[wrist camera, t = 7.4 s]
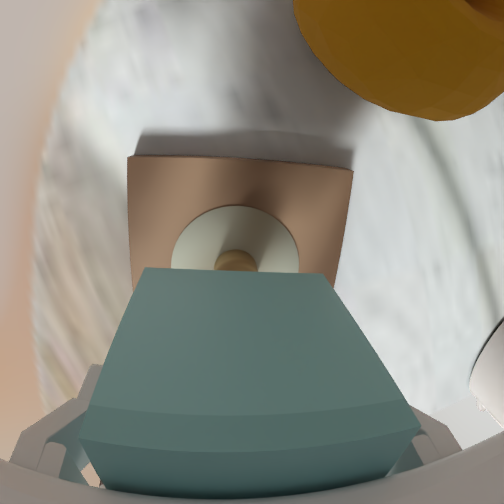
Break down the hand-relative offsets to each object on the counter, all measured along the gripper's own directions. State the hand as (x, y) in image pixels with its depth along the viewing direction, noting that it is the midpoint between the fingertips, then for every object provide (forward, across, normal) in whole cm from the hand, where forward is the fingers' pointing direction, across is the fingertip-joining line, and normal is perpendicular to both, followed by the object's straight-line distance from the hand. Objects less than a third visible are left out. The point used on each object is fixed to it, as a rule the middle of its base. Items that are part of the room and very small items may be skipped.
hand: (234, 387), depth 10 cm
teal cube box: (+2, 0, 0) cm, 2 cm away
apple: (+10, -6, -14) cm, 19 cm away
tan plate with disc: (+10, -1, 0) cm, 10 cm away
